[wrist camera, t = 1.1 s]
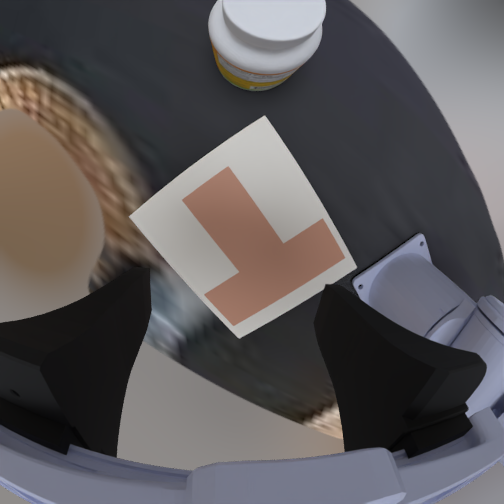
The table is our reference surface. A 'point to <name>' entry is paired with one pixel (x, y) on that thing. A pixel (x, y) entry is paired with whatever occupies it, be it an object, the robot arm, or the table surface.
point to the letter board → (246, 230)
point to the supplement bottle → (264, 39)
